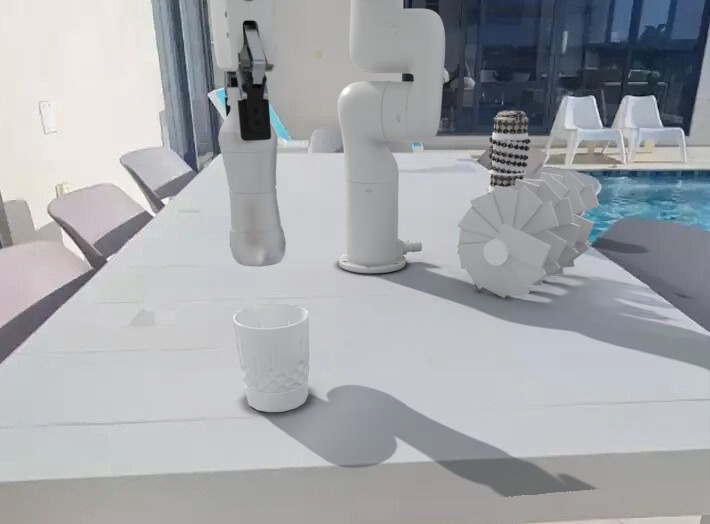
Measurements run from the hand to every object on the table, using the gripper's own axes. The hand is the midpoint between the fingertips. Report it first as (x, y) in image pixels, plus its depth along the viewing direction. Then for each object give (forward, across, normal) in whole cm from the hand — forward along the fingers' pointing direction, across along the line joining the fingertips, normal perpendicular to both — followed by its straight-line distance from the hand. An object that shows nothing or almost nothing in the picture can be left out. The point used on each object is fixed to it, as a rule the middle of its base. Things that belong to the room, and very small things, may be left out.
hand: (248, 135), depth 72 cm
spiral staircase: (+27, +12, -48) cm, 56 cm away
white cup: (+27, -13, +2) cm, 30 cm away
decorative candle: (+27, +52, -70) cm, 91 cm away
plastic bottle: (+15, 0, 0) cm, 15 cm away
